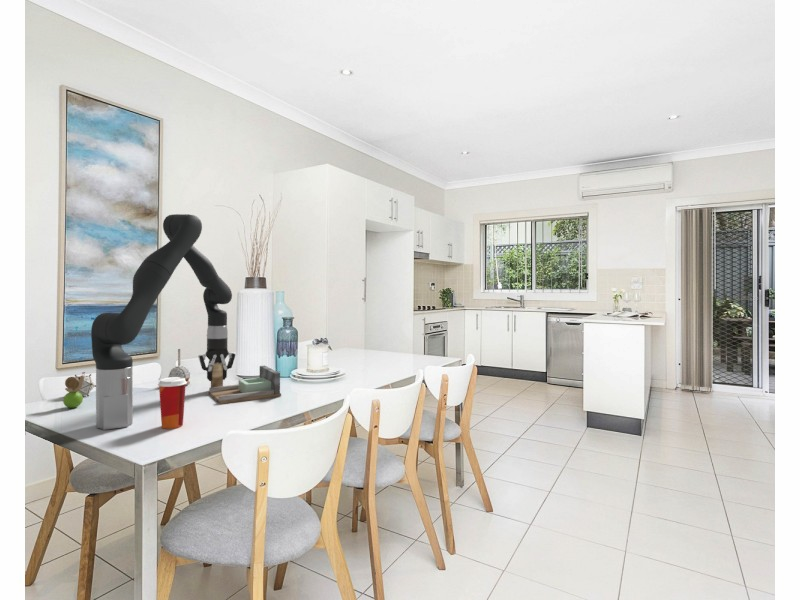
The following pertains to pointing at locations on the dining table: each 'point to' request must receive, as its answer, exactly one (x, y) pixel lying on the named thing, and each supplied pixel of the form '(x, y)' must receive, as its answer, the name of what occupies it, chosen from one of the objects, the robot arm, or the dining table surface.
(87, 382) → the spiky polyhedron ball
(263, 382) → the green square tray
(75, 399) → the snail figurine
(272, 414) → the dining table surface
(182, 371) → the decorative ornament
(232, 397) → the track
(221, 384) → the dowel
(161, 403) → the paper cup
